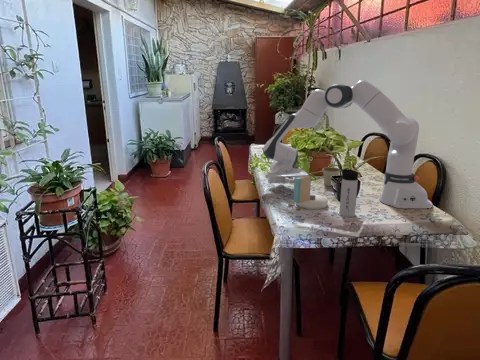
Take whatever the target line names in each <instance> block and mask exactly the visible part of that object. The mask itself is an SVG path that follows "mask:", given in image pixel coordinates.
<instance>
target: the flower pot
mask: <svg viewBox="0 0 480 360" xmlns="http://www.w3.org/2000/svg"><path fill="white" fill-rule="evenodd" d="M321 170H322V172H323V182H324V183H323V184H324V185H325V186H328V187H332V186H331V176H332V175H338V176H339V174H340V171H339V168H337V167H332V166H331V167H323V168H322V169H321Z"/></svg>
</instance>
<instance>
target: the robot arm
mask: <svg viewBox="0 0 480 360" xmlns="http://www.w3.org/2000/svg"><path fill="white" fill-rule="evenodd" d="M353 103H354V104H356V105H357V106H358V107H359V108H361V110H362V111H363V112H365V114H366V115H368V116H369V117H370V119H372V120H373V121H374V122H375V124H377V125H378V128H380V130H381V131H382V132H383V133H384V135H385V136H386V137H387V138H388V139H389V140H390V144H389V150H388V153H387V159H386V168H385V171H384V176H383V184H384V185H383V189H382V192H381V195H380V197H379V200H378V201H380V203H383V204H385V205H389V206H391V207H394V208H396V209H427V208H429V209H432V208H433V202H432V201H431V200H430V199H428V192H427V191H426V189H425V188H423V187H422V185H420V184H419V183H418V182H419V181H420V177H419V176H418V175H417V174H415V173H413V168H414V163H415V155H416V149H417V143H418V138H419V133H420V126H419V123H418V121H417V120H416V119H414V118H413V117H411V116H405V114H404V113H402V111H401V110H400V109H399V108H398V107H397V105H396V104H395V103H394V102H393V101H392V100H391V99H390V97H388V96H387V95H386V94H385V93H384V92H383V91H382V90H381V89H379V88H378V87H377V86H375V85H374V84H372V83H371V82H369V81H367V80H364V79H363V80H362V79H361V80H359V81H357V82H355V83H354V84H353V85H352V86H350V85H345V84H341V83H336V84H335V83H334V84H332V85H330V86H329V87H328V88H327V89H325V90H324V89H321V88H320V89H319V88H317V89H314V90H312V92H311V93H310V94H309V95H308V97H306V100H304V102H303V104H302V106H301V107H300V108H299V110H298V111H296V112H295V113H291V114H289V115H288V116H287V117H286V119H285V120H284V121H283V122H282V124H281V125H280V126H279V127H278V129H277V130H276V131H275V132H274V133H273V135H272V136H271V137H270V138H269V139H268V140H267V141H266V142H265V145H264V146H263V148H262V151H263V155H264V158H266V159H269V160H273V161H272V162H271V163H270V166H269V169H270V172H268V173H267V174H265V176H264V177H265V178H266V179H267V183H268V184H283V185H285V184H290V185H291V184H294V178H296V177H297V178H298V177H303V176H308V175H309V176H310V174H309V172H306V171H305V170H303V169H302V168H301V167H295V166H297V163H298V161H299V153H298V150H297V148H294V147H292V146H290V145H287V144H285V143H282V142H281V141H282V140H283V139H284V137H285V136H286V135H287V134H288V132H289V131H290V130H293V129H311V128H314V127H316V126H317V125H318V124H319V123H320V121H321V119H322V118H323V116H324V115H325V112H326V111H327V110H328V109H329V108H330V107H331V108H334V109H345V108H348V107H350V106H351V105H352V104H353ZM431 207H432V208H431Z"/></svg>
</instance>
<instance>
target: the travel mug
mask: <svg viewBox="0 0 480 360" xmlns="http://www.w3.org/2000/svg"><path fill="white" fill-rule="evenodd" d="M341 174H342V176H341V187H340V201H339V213H338V214H339V215H340V216H343V217H354V216H355V215H356V206H357V205H356V203H357V194H358V181H359V178H358V177H359V172H358V171H357V170H353V169H348V168H343V169H342V173H341Z"/></svg>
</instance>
